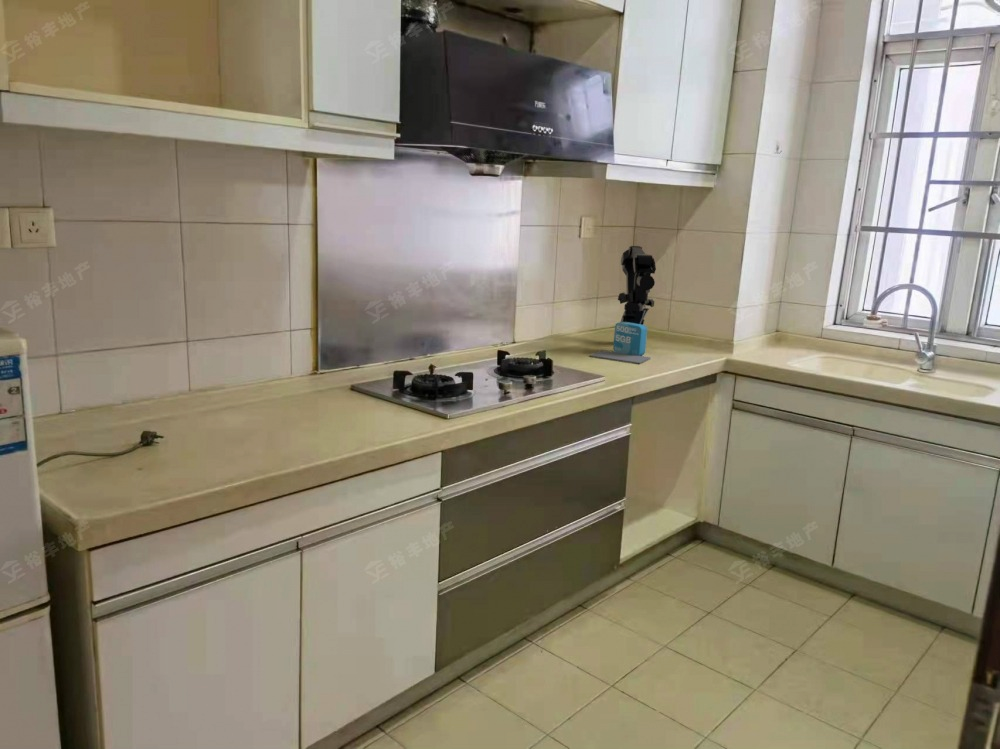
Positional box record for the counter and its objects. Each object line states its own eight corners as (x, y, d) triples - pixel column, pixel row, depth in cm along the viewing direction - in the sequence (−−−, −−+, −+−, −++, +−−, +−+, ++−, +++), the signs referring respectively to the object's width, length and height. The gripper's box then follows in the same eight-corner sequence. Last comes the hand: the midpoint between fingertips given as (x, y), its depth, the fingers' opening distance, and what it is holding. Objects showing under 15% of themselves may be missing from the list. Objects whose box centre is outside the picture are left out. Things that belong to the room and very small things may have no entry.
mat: (601, 351, 295) (601, 350, 295) (650, 359, 286) (650, 357, 286) (589, 356, 285) (589, 355, 285) (639, 364, 276) (640, 362, 276)
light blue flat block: (612, 352, 296) (615, 322, 293) (618, 350, 299) (621, 321, 296) (638, 357, 288) (641, 326, 285) (645, 355, 291) (647, 325, 289)
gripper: (629, 283, 306) (626, 320, 310) (613, 287, 290) (610, 326, 294) (656, 285, 301) (652, 324, 305) (640, 289, 285) (637, 330, 289)
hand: (637, 326), depth 298 cm, fingers closed
